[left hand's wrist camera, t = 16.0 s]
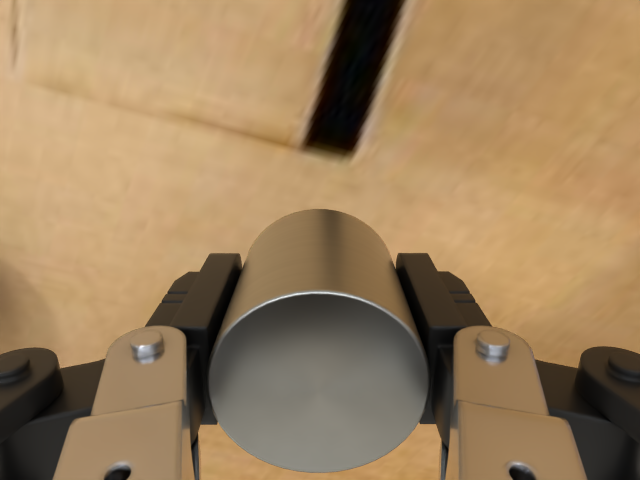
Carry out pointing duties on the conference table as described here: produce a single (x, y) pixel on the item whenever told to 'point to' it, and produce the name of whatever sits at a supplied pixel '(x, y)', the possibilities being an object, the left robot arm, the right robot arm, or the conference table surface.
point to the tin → (318, 348)
